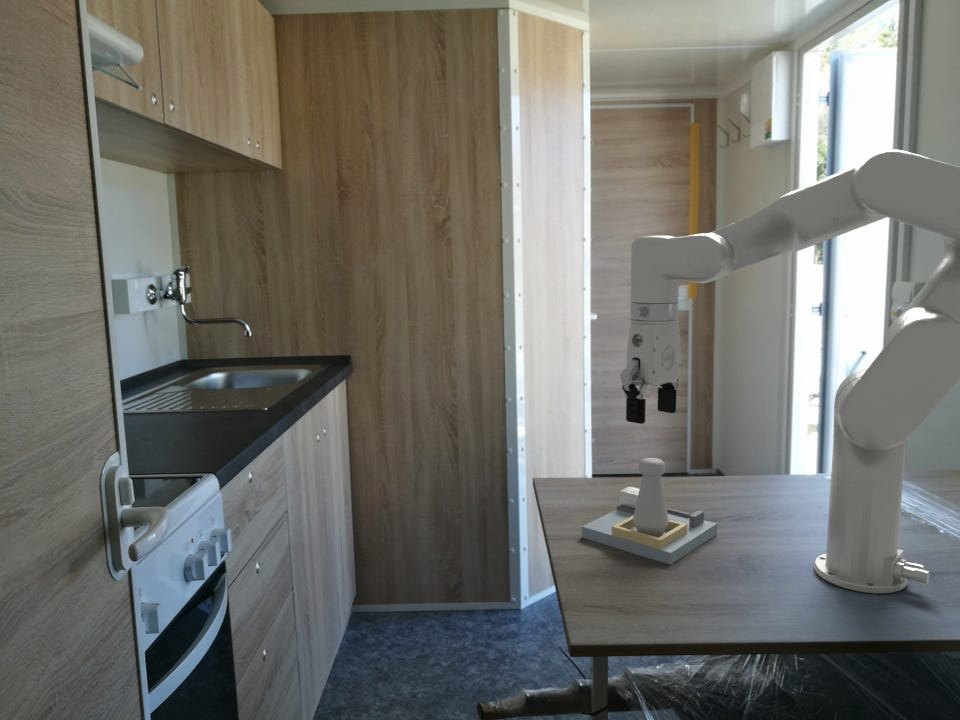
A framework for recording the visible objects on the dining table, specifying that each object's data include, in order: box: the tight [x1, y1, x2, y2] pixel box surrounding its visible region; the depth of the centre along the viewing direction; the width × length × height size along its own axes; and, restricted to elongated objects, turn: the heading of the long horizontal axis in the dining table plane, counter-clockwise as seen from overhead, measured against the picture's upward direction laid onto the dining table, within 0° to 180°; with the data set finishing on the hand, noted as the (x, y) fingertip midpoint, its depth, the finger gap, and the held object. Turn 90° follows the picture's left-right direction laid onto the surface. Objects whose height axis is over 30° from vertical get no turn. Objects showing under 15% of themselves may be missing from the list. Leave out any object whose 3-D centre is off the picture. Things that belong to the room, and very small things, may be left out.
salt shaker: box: [633, 457, 669, 538], centre depth 125 cm, size 6×6×13 cm
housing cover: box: [618, 486, 640, 510], centre depth 137 cm, size 5×3×3 cm
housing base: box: [581, 504, 718, 565], centre depth 130 cm, size 17×16×4 cm
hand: (651, 416), depth 123 cm, fingers open, 9 cm apart
